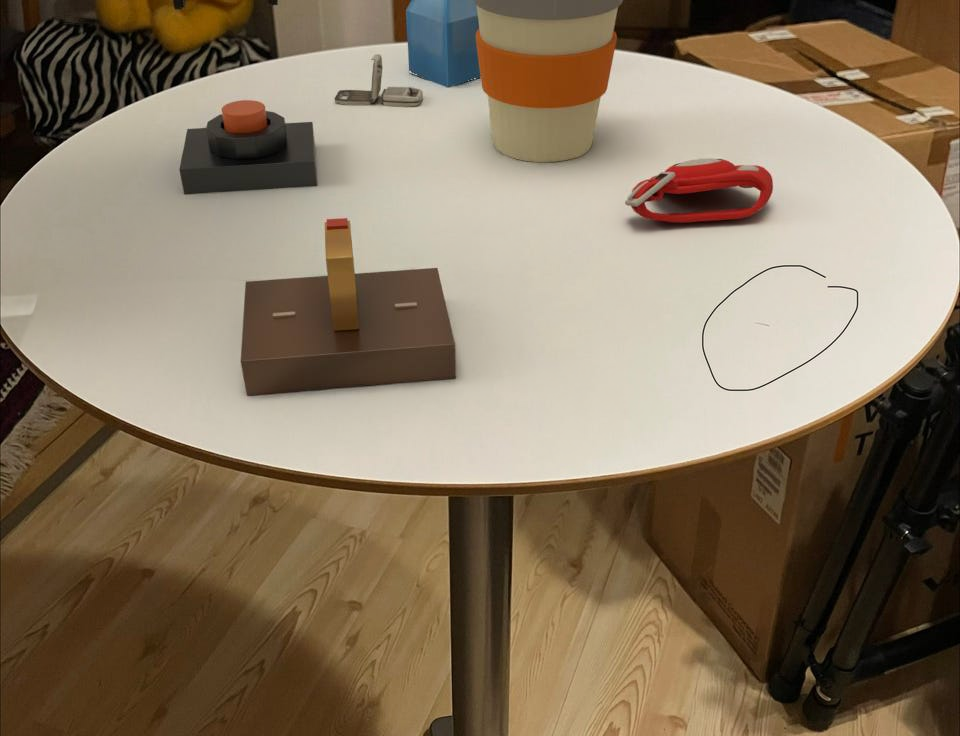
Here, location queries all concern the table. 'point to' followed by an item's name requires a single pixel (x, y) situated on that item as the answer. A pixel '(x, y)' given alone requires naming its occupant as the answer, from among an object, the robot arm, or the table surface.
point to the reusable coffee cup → (545, 73)
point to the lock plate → (346, 333)
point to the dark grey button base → (248, 157)
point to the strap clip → (388, 96)
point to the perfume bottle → (443, 40)
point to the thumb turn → (341, 274)
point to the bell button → (244, 116)
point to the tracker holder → (701, 188)
